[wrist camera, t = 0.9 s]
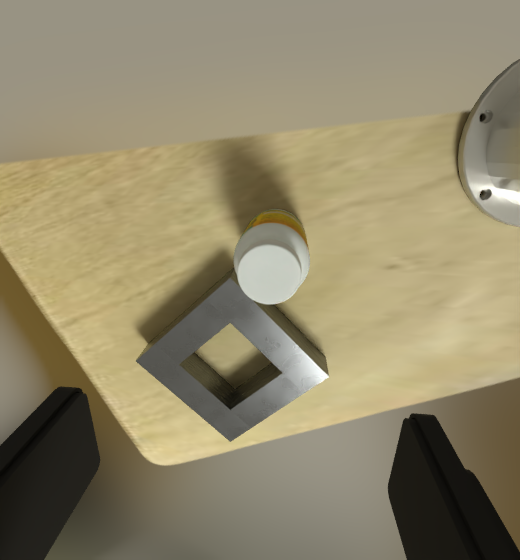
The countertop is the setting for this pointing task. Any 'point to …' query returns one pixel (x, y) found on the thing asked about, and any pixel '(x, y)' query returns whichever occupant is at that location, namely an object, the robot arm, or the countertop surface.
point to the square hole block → (213, 388)
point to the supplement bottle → (272, 257)
